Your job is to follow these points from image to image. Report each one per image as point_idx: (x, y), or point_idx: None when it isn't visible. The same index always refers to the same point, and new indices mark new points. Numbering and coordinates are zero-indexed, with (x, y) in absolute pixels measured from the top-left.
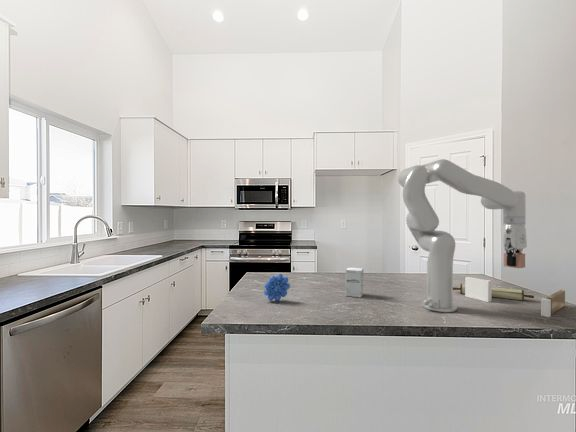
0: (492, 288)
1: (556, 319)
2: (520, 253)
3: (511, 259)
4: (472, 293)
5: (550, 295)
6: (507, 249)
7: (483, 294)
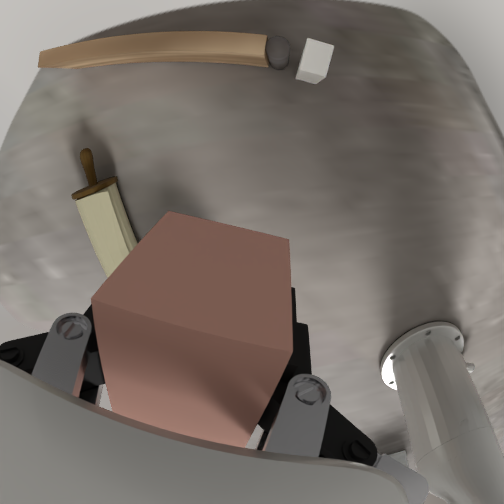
0: None
1: (334, 37)
2: (108, 349)
3: (305, 364)
4: None
5: (200, 49)
6: (425, 481)
7: None
